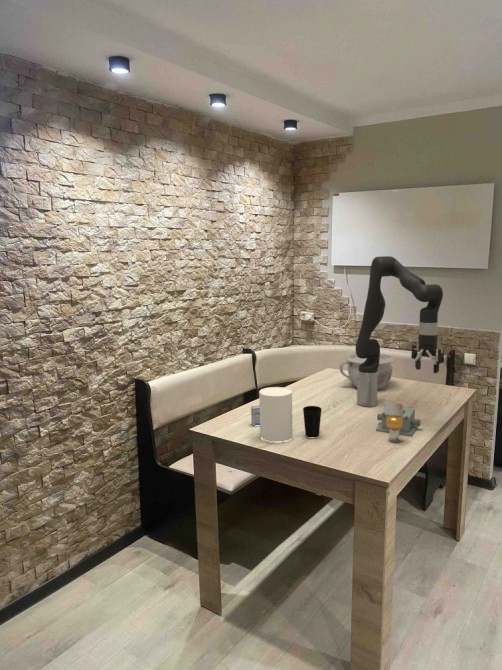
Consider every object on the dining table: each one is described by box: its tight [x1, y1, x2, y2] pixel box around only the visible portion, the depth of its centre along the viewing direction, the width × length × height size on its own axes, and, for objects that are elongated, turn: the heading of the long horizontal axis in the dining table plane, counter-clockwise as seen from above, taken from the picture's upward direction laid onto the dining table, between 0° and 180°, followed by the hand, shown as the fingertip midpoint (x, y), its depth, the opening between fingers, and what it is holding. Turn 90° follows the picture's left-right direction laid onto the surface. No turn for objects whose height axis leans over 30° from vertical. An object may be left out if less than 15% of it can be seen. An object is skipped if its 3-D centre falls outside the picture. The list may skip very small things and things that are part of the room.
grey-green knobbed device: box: [375, 406, 422, 437], centre depth 217 cm, size 18×18×8 cm
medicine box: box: [250, 404, 260, 425], centre depth 224 cm, size 8×4×9 cm, turn 105°
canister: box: [258, 386, 293, 441], centre depth 207 cm, size 14×14×20 cm
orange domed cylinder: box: [387, 415, 403, 444], centre depth 202 cm, size 6×6×10 cm
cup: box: [302, 405, 322, 438], centre depth 209 cm, size 8×8×12 cm
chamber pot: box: [338, 353, 396, 391], centre depth 280 cm, size 28×28×21 cm
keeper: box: [384, 400, 404, 417], centre depth 208 cm, size 7×1×8 cm, turn 61°
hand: (426, 371), depth 208 cm, fingers open, 8 cm apart
